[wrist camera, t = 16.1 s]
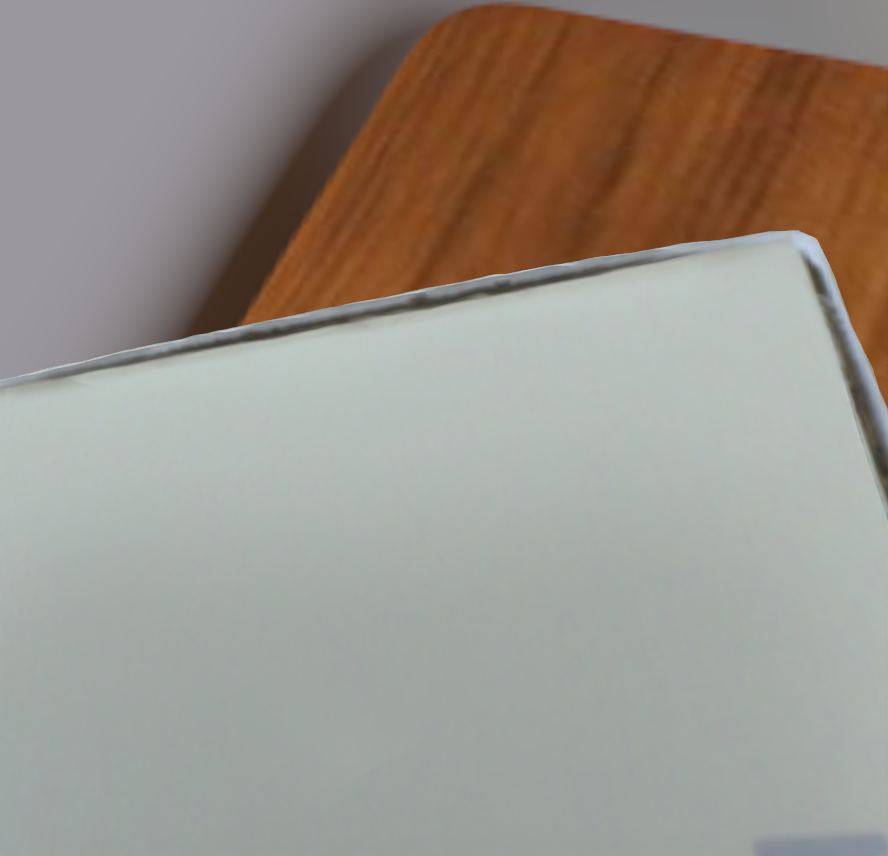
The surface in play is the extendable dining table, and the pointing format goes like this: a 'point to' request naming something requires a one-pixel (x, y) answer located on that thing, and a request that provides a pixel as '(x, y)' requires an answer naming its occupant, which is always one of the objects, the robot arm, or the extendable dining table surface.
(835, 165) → the extendable dining table surface
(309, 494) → the cosmetic box
